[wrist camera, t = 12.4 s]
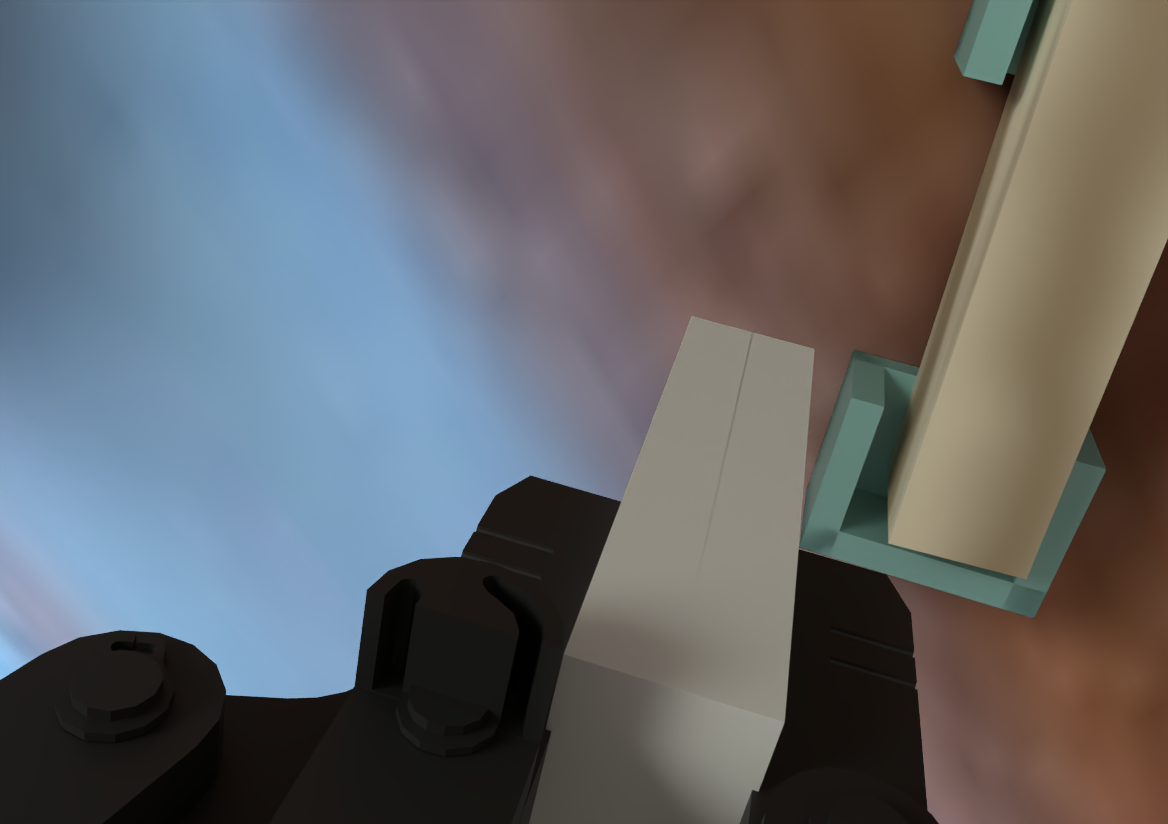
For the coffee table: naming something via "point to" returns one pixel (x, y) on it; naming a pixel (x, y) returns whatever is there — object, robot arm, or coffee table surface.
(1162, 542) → the coffee table surface
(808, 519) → the cap
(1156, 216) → the beige long bar
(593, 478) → the coffee table surface
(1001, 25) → the cap
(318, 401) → the coffee table surface
